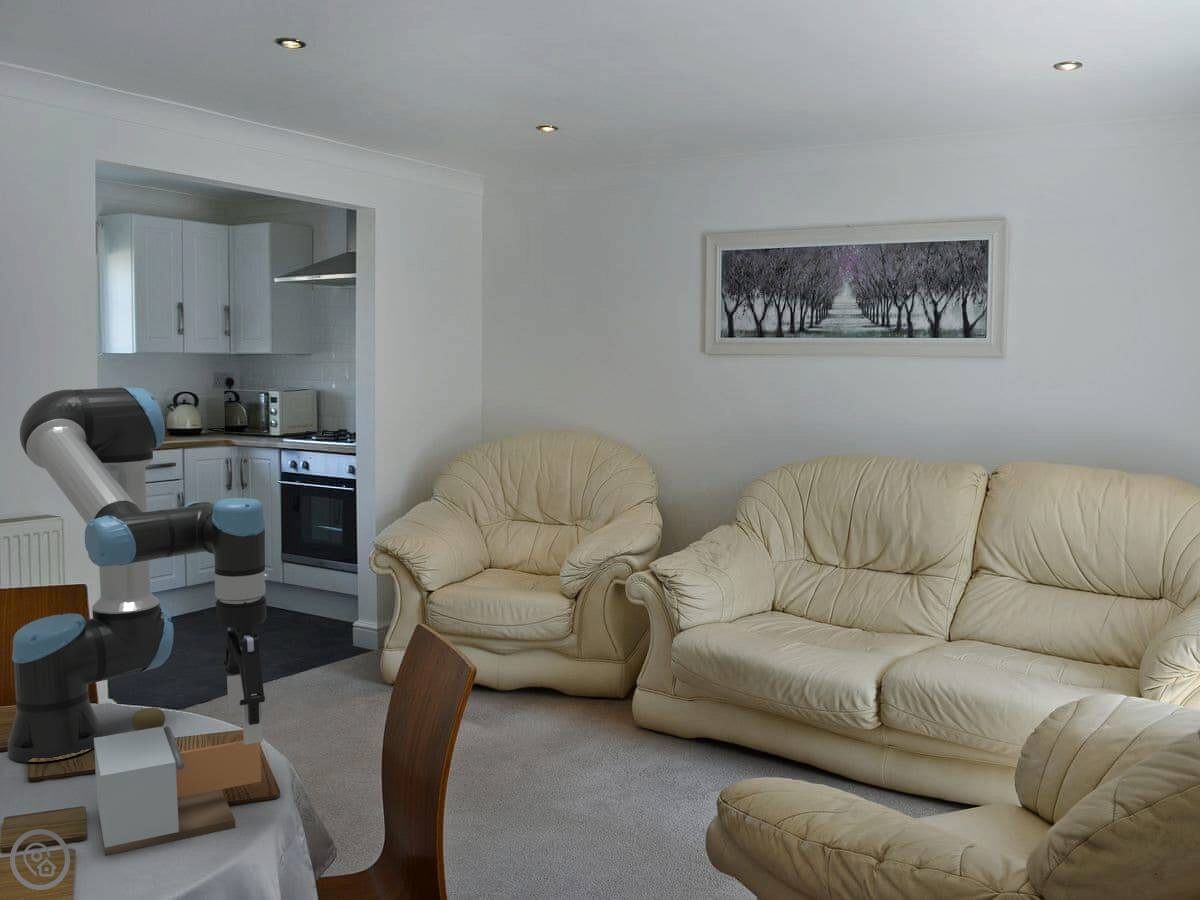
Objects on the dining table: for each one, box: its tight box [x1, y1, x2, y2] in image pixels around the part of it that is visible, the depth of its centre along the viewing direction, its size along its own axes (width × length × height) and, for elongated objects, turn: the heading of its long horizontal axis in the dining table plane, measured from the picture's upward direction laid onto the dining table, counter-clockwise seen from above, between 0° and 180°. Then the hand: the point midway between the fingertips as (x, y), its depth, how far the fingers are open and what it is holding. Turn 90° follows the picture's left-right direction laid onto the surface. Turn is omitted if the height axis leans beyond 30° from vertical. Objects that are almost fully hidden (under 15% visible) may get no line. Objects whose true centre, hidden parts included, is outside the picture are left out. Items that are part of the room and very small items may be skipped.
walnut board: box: [96, 789, 236, 856], centre depth 163 cm, size 16×18×1 cm
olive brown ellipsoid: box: [131, 707, 166, 731], centre depth 180 cm, size 6×6×11 cm
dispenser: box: [93, 725, 184, 847], centre depth 161 cm, size 16×11×11 cm
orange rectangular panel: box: [176, 739, 262, 798], centre depth 165 cm, size 1×16×7 cm, turn 118°
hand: (244, 727), depth 168 cm, fingers open, 13 cm apart
